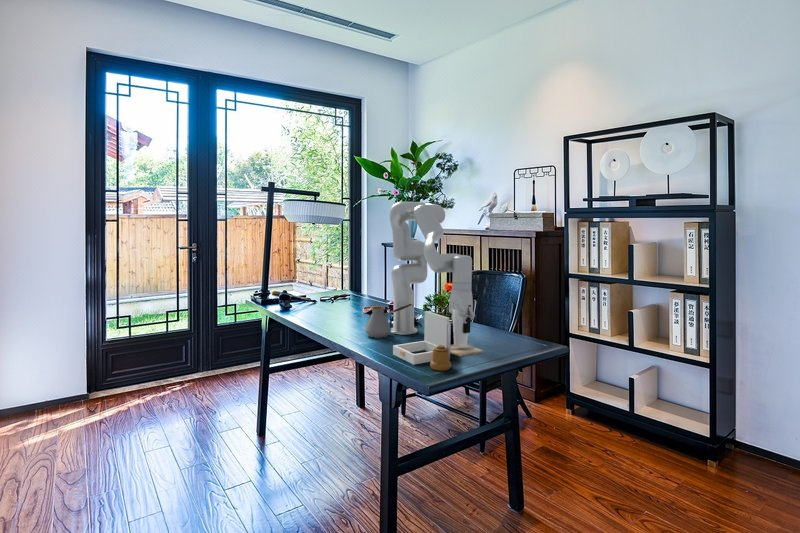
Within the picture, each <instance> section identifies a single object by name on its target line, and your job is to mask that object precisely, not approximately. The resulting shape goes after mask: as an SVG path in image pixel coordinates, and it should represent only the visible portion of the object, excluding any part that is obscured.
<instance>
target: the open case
mask: <svg viewBox="0 0 800 533" xmlns="http://www.w3.org/2000/svg"><path fill="white" fill-rule="evenodd" d="M423 322H424V327H423V329H424V330H423V331H424V332H423V333H424V337H423V339H424V340H420V341H415V342H414V341H413V342H407V343H402V344H401V343H400V344H394V345H392V355H394V356H395V357H397V358H400V359H401V360H404V361H405V362H408V363H409V364H411V365H414V366H415V365H419V364H423V363H425V364H426V363H429V362H431V361H432V354H433V349H434V348H435V347H437V346H438V345H443V346H445V347H446V348H447V349H448V350H449V360H451V353H450V345H451V335H452V334H451V333H452V332H451V329H452V321H450V317H448V316H444V315H441V314H438V313H435V312H433V311H432V312H431V311H427V310H426V311H424V321H423ZM420 351H425V352H420ZM415 352H418V353H415ZM419 352H420V353H419Z"/></svg>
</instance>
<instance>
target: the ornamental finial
mask: <svg viewBox="0 0 800 533" xmlns="http://www.w3.org/2000/svg"><path fill="white" fill-rule="evenodd" d="M429 366H430V368H431V369H432V370H434V371H438V372H439V371H440V372H444V371H449V370H450V369H451V367H452V363H451V361H450V359H449V350H448V349H447V348H446V347H445V346H443V345H438V346H437V347H435V348H434V349H433V354H432V361H431V362H430V363H429Z"/></svg>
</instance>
